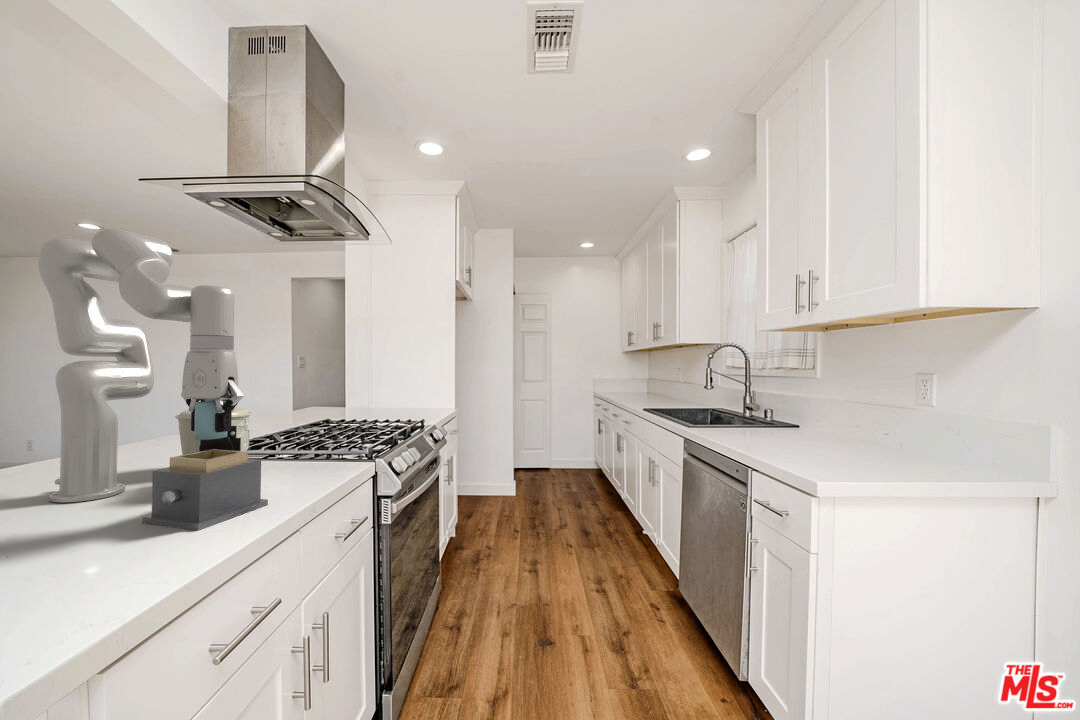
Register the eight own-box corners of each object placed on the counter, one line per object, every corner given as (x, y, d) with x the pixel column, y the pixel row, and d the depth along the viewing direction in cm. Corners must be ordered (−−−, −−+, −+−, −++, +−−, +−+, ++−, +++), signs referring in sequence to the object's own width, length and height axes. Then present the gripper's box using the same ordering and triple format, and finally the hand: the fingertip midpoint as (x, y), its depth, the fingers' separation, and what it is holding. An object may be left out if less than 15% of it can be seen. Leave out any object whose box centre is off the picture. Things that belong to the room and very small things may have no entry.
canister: (156, 476, 123) (158, 399, 123) (213, 462, 141) (214, 395, 141) (215, 480, 121) (216, 401, 121) (265, 465, 139) (266, 396, 139)
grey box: (138, 524, 88) (140, 460, 88) (218, 499, 104) (219, 445, 104) (194, 531, 85) (196, 465, 85) (267, 504, 101) (268, 449, 101)
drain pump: (187, 438, 93) (188, 396, 93) (219, 433, 100) (219, 394, 100) (209, 440, 92) (209, 397, 92) (239, 434, 98) (240, 395, 98)
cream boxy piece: (239, 492, 110) (240, 419, 110) (196, 496, 106) (198, 421, 106) (251, 475, 126) (252, 412, 126) (214, 478, 123) (215, 413, 123)
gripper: (162, 344, 94) (161, 431, 93) (228, 344, 89) (227, 435, 89) (197, 345, 101) (196, 426, 101) (260, 345, 97) (259, 430, 97)
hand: (211, 430), depth 95 cm, fingers closed on drain pump, 5 cm apart
